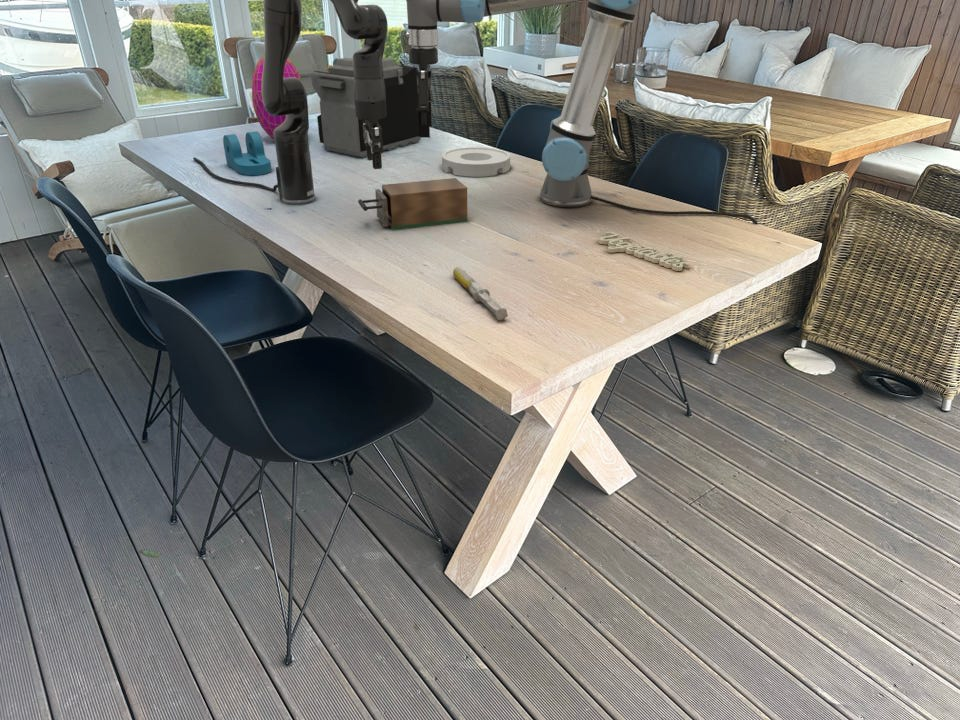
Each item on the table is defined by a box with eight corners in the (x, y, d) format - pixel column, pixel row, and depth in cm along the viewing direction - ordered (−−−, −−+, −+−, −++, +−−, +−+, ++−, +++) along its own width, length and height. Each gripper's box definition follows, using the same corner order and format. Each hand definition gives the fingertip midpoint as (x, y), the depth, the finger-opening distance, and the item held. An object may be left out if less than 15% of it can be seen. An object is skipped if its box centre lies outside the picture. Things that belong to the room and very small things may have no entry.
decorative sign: (584, 239, 172) (609, 230, 178) (583, 243, 172) (609, 234, 178) (672, 271, 155) (697, 260, 161) (671, 275, 156) (696, 264, 161)
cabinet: (392, 229, 180) (390, 195, 175) (383, 218, 188) (381, 184, 183) (467, 221, 186) (467, 187, 182) (456, 210, 194) (455, 177, 189)
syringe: (449, 274, 155) (449, 263, 153) (465, 272, 156) (464, 260, 154) (490, 323, 135) (491, 310, 133) (508, 319, 136) (508, 307, 134)
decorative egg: (293, 132, 276) (283, 50, 261) (319, 140, 264) (310, 56, 249) (249, 139, 265) (236, 54, 250) (273, 148, 253) (261, 60, 238)
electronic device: (383, 133, 276) (378, 52, 261) (425, 141, 265) (422, 56, 250) (314, 150, 251) (304, 61, 235) (358, 160, 240) (350, 67, 224)
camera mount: (227, 164, 233) (221, 132, 227) (257, 160, 238) (252, 129, 233) (244, 176, 220) (239, 143, 215) (276, 172, 225) (271, 139, 220)
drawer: (365, 228, 178) (363, 200, 174) (358, 218, 185) (356, 191, 181) (455, 218, 185) (455, 191, 182) (446, 209, 192) (445, 182, 188)
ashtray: (444, 158, 243) (444, 146, 241) (509, 159, 243) (510, 147, 241) (439, 176, 224) (438, 163, 222) (510, 177, 223) (510, 165, 221)
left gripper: (350, 92, 172) (355, 158, 180) (359, 103, 160) (364, 172, 168) (380, 91, 174) (383, 156, 182) (391, 101, 162) (394, 170, 170)
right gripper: (411, 41, 188) (414, 122, 199) (405, 52, 167) (409, 142, 177) (438, 41, 188) (440, 122, 199) (436, 52, 167) (438, 142, 178)
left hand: (374, 164), depth 175 cm, fingers open, 8 cm apart
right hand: (425, 131), depth 188 cm, fingers open, 13 cm apart
